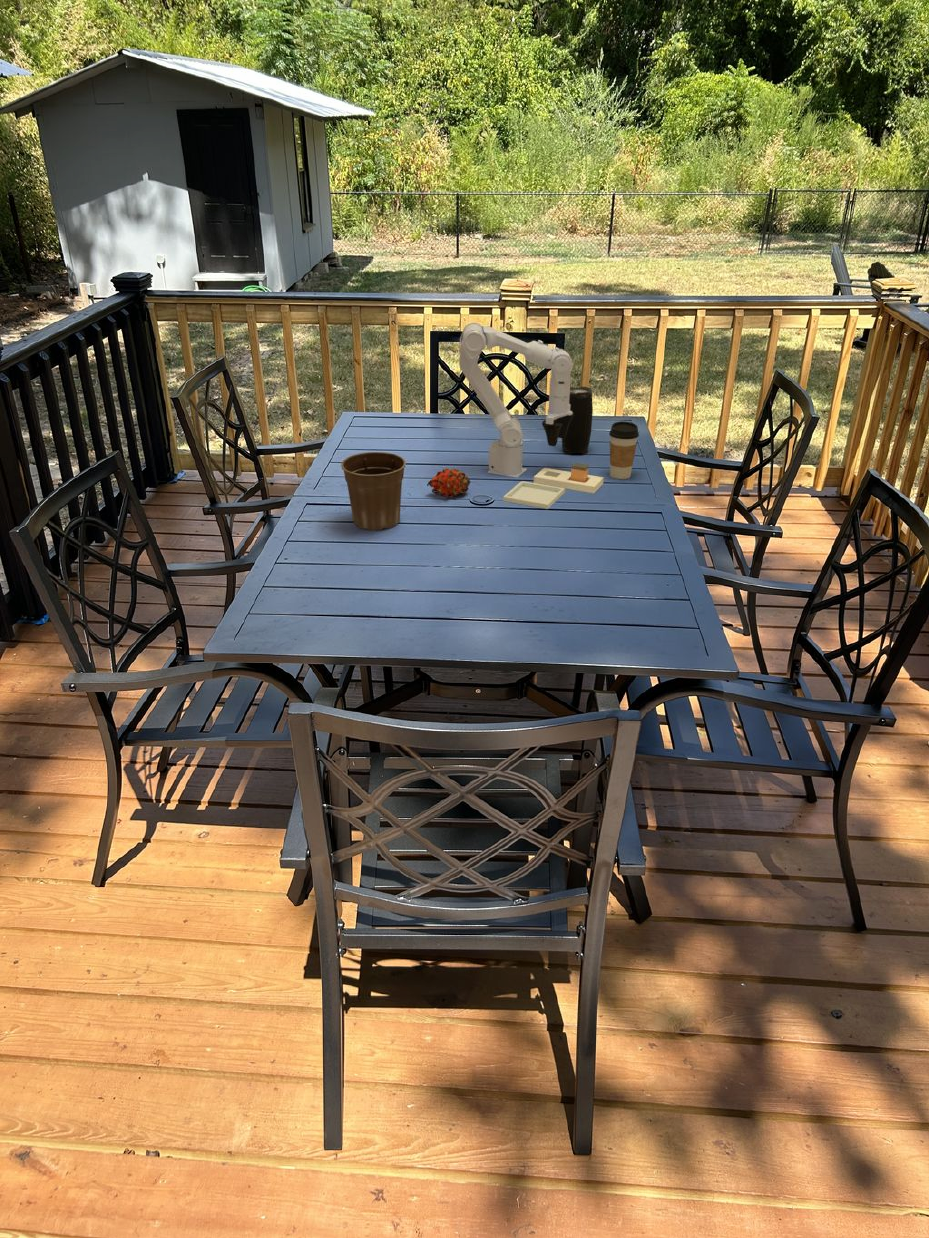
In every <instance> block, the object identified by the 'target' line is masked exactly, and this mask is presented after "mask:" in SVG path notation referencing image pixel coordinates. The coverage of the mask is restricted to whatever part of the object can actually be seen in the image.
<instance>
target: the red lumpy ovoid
mask: <svg viewBox="0 0 929 1238" xmlns="http://www.w3.org/2000/svg"><path fill="white" fill-rule="evenodd" d="M470 483H471V480H470V478H469V476H467V475H466V474H465V472H463V471H460V470H459V469H458V468H456V467H453V468H452V469H449V468H443V469H442V470H441V471H437V472H436V475H435V476H434V477H432V479H430V480H429V481H428V482H427V484H426V486H427V487H430V488H432V489H431V492H432V493H433V494H435V495H440V496H442V497H444V496H446V498H447V499H450V498H452V497H457V496H458V497H459V496H460V494H465V493H466V492H468V490H469V487H470Z"/></svg>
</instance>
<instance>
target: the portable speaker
mask: <svg viewBox="0 0 929 1238" xmlns="http://www.w3.org/2000/svg"><path fill="white" fill-rule="evenodd" d="M569 404H570V411H572V412H573V414H574V416H573V418H572V419H571V421H570V424H569V427H568V430H567V434H566V437H565V439H563V438H561V444H562V445H561V447H562V452H563V453H564V454H566V455H569V456H570V455H572V454H573V453H574V454H575V453H577V454H579V453H580V454H581V456H582V455H584V456H585V455H586V454H587V453H588V449H589V445H590V441H591V435H592V434H591V433H592V426H593V425H592V424H593V412H594V411H593V408H594V407H593V391H592V388H591V387H587V386H579V387H578V386H577V387H571V386H570V396H569Z"/></svg>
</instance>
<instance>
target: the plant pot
mask: <svg viewBox="0 0 929 1238" xmlns="http://www.w3.org/2000/svg"><path fill="white" fill-rule="evenodd" d="M406 465H407V461H406V460H405V458H403V457H402V456H400V455H399V454H396V453H391V452H383V451H368V452H361V453H360V452H359V453H356V454H352V455H350V456H347V457H346V458H344V459H343V460H342V461H341V469H342V471H343V475H344V479H345V482H346V484H347V485H346V486H347V491H348V497H349V501H350V509H351V514H352V515H351V516H352V522H353V524H354V525H355V527H356V528H360V529H362V530H366V531H382V529H391V528H393V527H395V526H397V525H398V524H399V523H400V520H401V503H402V502H401V501H402V485H403V479H404V473H405V472H404V471H405V468H406Z"/></svg>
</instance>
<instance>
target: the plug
mask: <svg viewBox="0 0 929 1238" xmlns="http://www.w3.org/2000/svg"><path fill="white" fill-rule="evenodd" d="M570 472H571V481H577V482H583V483H586V482H587V481H588V475H589V464H586V463H580V462H574V463H573V464H572V465H571V469H570Z"/></svg>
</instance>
